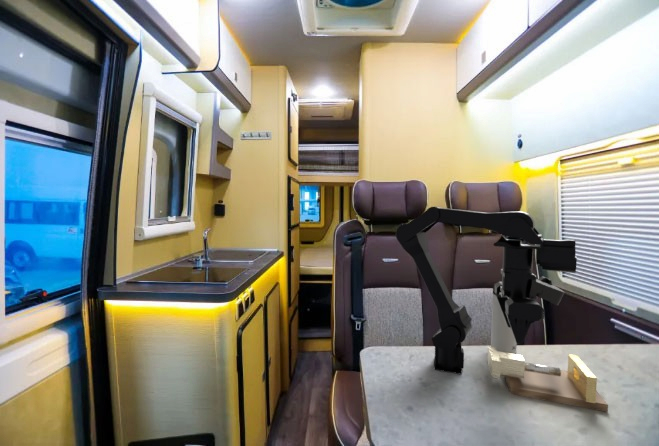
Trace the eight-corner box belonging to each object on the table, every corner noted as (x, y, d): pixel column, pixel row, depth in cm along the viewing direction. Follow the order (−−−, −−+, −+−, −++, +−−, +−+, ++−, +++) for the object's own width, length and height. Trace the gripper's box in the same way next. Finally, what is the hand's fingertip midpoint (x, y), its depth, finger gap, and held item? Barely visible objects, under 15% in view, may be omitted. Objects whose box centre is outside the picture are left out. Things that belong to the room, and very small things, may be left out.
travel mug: (521, 359, 82) (524, 286, 81) (494, 357, 83) (497, 285, 82) (512, 348, 88) (514, 280, 87) (487, 346, 89) (489, 279, 88)
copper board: (511, 393, 67) (511, 387, 67) (501, 366, 78) (501, 360, 78) (607, 411, 61) (608, 404, 61) (582, 379, 73) (582, 373, 72)
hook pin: (491, 377, 69) (492, 360, 69) (487, 362, 76) (488, 346, 76) (564, 389, 65) (565, 371, 64) (553, 372, 71) (554, 355, 71)
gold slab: (585, 401, 62) (587, 376, 62) (567, 376, 71) (568, 354, 71) (595, 403, 62) (596, 378, 61) (575, 377, 71) (576, 355, 70)
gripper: (578, 280, 57) (574, 361, 58) (546, 262, 74) (543, 324, 75) (510, 275, 61) (507, 351, 62) (495, 259, 78) (493, 318, 79)
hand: (514, 335), depth 69 cm, fingers open, 9 cm apart
